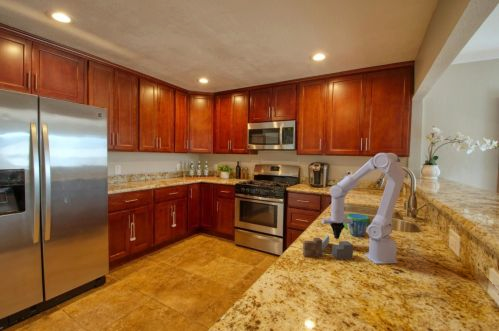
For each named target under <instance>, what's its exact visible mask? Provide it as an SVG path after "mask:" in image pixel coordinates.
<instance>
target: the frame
mask: <svg viewBox="0 0 499 331" xmlns="http://www.w3.org/2000/svg"><path fill="white" fill-rule="evenodd" d="M322 240H323V239H321V238H320V237H313V240H302V256H303V257H307V258H308V257H315V258H316V257H323V255H325V254H326V255H327V254H332V251H322Z"/></svg>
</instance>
